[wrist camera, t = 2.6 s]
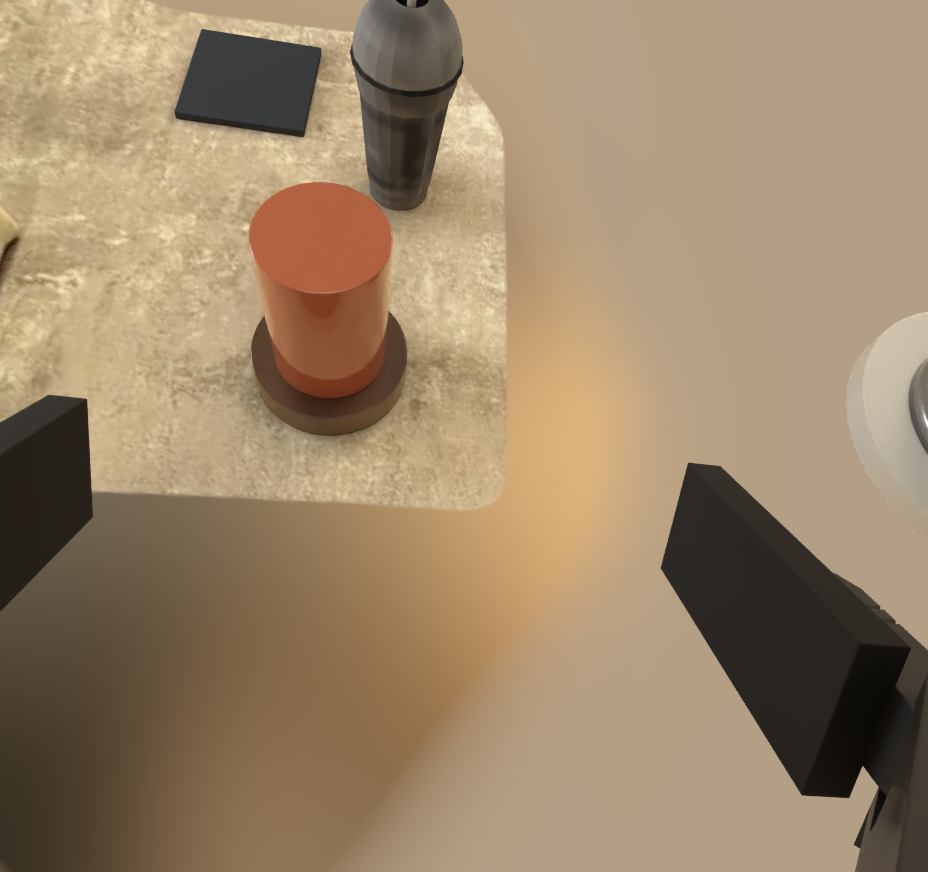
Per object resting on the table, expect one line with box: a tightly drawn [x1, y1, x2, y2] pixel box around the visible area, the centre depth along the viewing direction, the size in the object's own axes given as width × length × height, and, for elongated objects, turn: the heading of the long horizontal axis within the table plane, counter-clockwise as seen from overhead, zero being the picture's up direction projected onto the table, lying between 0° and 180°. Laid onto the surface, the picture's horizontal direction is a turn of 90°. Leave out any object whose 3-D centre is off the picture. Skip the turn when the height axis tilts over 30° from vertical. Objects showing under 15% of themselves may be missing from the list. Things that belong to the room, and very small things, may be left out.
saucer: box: [251, 311, 407, 435], centre depth 46 cm, size 10×10×2 cm
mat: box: [175, 29, 321, 136], centre depth 57 cm, size 10×10×1 cm
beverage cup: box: [350, 0, 463, 210], centre depth 46 cm, size 7×7×20 cm
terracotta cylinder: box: [249, 182, 393, 398], centre depth 40 cm, size 7×7×11 cm
